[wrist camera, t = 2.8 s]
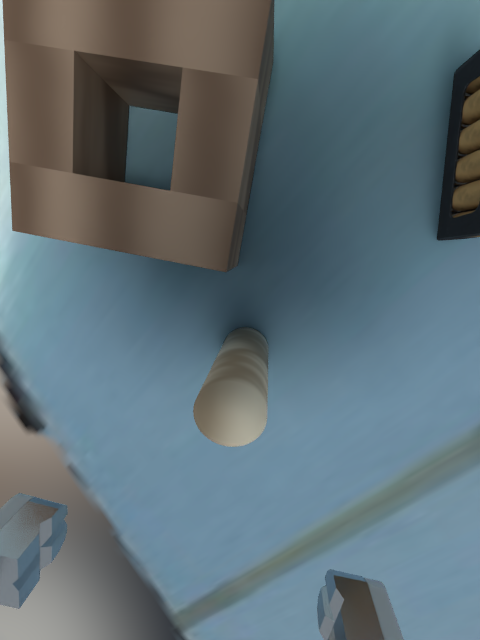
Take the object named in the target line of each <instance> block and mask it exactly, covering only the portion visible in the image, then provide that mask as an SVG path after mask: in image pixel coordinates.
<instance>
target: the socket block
mask: <svg viewBox="0 0 480 640" xmlns="http://www.w3.org/2000/svg"><path fill="white" fill-rule="evenodd" d="M3 21H4V44H5V68H6V91H7V114H8V138H9V161H10V185H11V208H12V231H17V232H22V233H27V234H32V235H37V236H43V237H48V238H53V239H58V240H63V241H68V242H73V243H79V244H84V245H89V246H94V247H99V248H104V249H109V250H115V251H120V252H125V253H130V254H135V255H140V256H145V257H151V258H156V259H161V260H166V261H171V262H176V263H181V264H186V265H192V266H197V267H202V268H207V269H212V270H217V271H222V272H227V271H229V270H231V269H233V268H234V267H236V266H237V265H238V260H239V254H240V248H241V242H242V237H243V231H244V225H245V220H246V214H247V208H248V203H249V197H250V191H251V185H252V180H253V174H254V168H255V163H256V157H257V151H258V145H259V140H260V134H261V128H262V123H263V117H264V111H265V105H266V100H267V94H268V88H269V83H270V77H271V71H272V65H273V49H274V0H3ZM129 106H135V107H141V108H147V109H153V110H160V111H166V112H172V113H178V119H177V129H176V139H175V149H174V159H173V168H172V178H171V188H170V191H169V190H163V189H158V188H152V187H147V186H141V185H136V184H130V183H125V166H126V150H127V133H128V117H129Z"/></svg>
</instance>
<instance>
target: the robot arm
mask: <svg viewBox="0 0 480 640" xmlns="http://www.w3.org/2000/svg"><path fill="white" fill-rule="evenodd" d="M66 515H67V505H63V504H59V503H55V502H52V501H48V500H44V499H40V498H37V497H33V496H29V495H25V494H21V493H19V494H17V495H15V496H14V497H12V498H11V499H10V500H9V501H8V502H7V503H6V504H5V505H4V506H2V508H0V605H5V606H9V607H14V608H18V609H19V608H20V607H21V606H22V604H23V603H24V601H25V600H26V598H27V597H28V596H29V594H30V593H31V591H32V590H33V588H34V587H35V585H36V584H37V583H38V581H39V579H40V570H41V569H42V568H44V567H45V566H47V565H48V564H50V563H51V562H52V561H53V560H54V558H55V556H56V555H57V554H58V552H59V550H60V548H61V546H62V544H63V542H64V540H65V536H66V533H67V524H66V522H65V521H64V518H65V516H66ZM325 581H326V585H325V586H323V587H322V588H321V589H320V593H319V596H318V605H317V613H318V625H319V631H320V633H321V635H322V637H323V638H324V640H404V639H403V636H402V633H401V630H400V627H399V625H398V622H397V619H396V616H395V613H394V610H393V608H392V605H391V602H390V599H389V596H388V593H387V591H386V588H385V586H384V585H383V583H382V582H380V581H377V580H372V579H368V578H363V577H362V576H358V575H353V574H349V573H344V572H340V571H335V570H331V569H330V570H328V571H327V573H326V576H325Z"/></svg>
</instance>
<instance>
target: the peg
mask: <svg viewBox="0 0 480 640" xmlns="http://www.w3.org/2000/svg"><path fill="white" fill-rule="evenodd" d="M267 395H268V343H267V341H266V339H265V337H264V336H263V335H262V334H261V333H260V332H259V331H257V330H255V329H253V328H248V327H242V328H238V329H235V330H233V331H232V332H231V333H230V334H229V335H228V336H227V337H226V339H225V341H224V343H223V345H222V347H221V349H220V351H219V353H218V355H217V357H216V359H215V361H214V363H213V366H212V368H211V370H210V372H209V374H208V376H207V378H206V380H205V382H204V384H203V386H202V388H201V390H200V392H199V394H198V396H197V398H196V401H195V404H194V410H193V413H194V419H195V422H196V425H197V427H198V428H199V430H200V431H201V432H202V433H203V435H205V436H206V437H207V438H208V439H210V440H211V441H213V442H215V443H217V444H220V445H223V446H229V447H237V446H243V445H246V444H249V443H251V442H252V441H254V440H255V439H257V438H258V437H259V436H260V435H261V433H262V432H263V430H264V428H265V426H266V422H267Z"/></svg>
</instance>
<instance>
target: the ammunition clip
mask: <svg viewBox="0 0 480 640" xmlns="http://www.w3.org/2000/svg"><path fill="white" fill-rule="evenodd" d="M475 237H480V50H479V51H478V52H476V53H475V54H474V55H473V56H472V57H471V58H469V59H468V60H467V61H466V62H465V63H464V64H463V65H461V66H460V67H459V68H458V69H457V70H456V72H455V74H454V80H453V90H452V99H451V109H450V119H449V128H448V138H447V148H446V157H445V167H444V176H443V186H442V196H441V205H440V215H439V224H438V234H437V240H454V239H466V238H475Z"/></svg>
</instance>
